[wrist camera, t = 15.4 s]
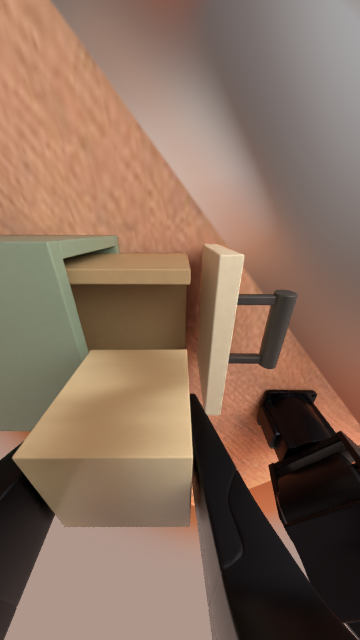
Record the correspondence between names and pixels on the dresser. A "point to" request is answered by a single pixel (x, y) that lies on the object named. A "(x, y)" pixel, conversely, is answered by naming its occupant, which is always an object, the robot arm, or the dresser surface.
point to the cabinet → (39, 322)
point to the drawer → (173, 309)
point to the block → (116, 442)
